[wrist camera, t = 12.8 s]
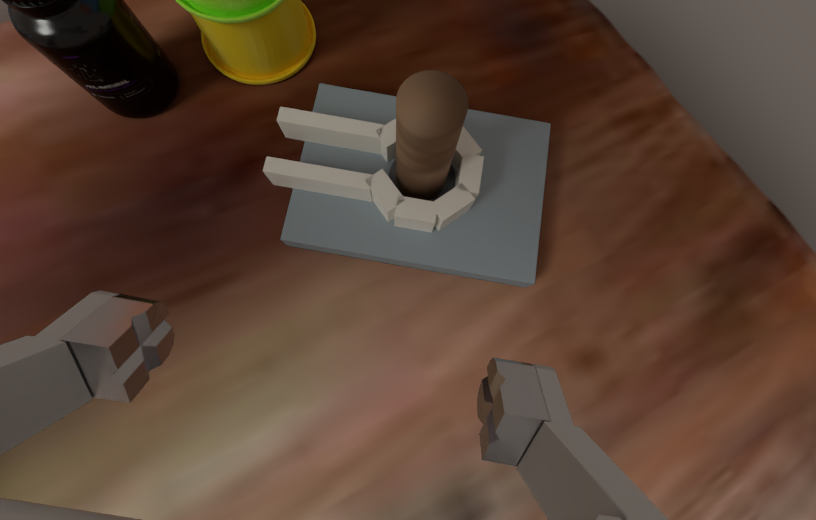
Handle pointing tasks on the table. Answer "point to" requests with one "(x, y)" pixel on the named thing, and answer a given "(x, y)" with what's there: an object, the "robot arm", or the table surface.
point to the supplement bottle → (100, 51)
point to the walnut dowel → (427, 131)
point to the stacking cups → (255, 37)
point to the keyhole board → (458, 244)
